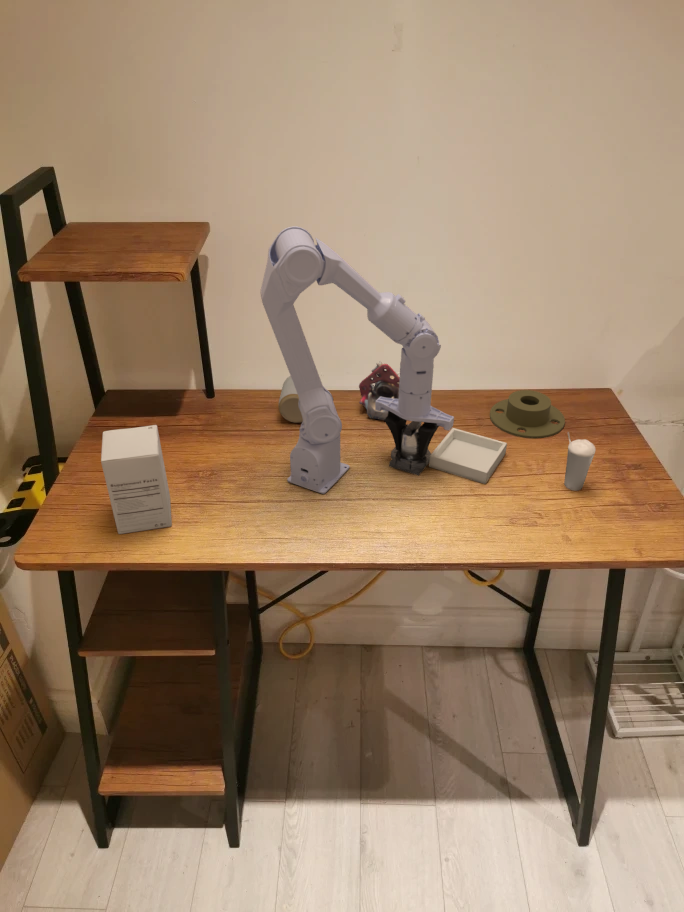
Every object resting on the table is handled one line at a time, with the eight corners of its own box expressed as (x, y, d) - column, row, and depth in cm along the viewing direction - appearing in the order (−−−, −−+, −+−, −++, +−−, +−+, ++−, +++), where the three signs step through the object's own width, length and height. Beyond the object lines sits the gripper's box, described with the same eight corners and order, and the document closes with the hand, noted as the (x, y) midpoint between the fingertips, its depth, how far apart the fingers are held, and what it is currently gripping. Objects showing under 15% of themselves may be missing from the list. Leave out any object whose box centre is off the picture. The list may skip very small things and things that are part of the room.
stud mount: (420, 477, 131) (420, 468, 130) (385, 466, 134) (385, 457, 133) (435, 458, 136) (436, 449, 135) (401, 448, 139) (402, 438, 138)
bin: (485, 484, 129) (486, 472, 128) (428, 466, 134) (429, 455, 132) (505, 453, 137) (507, 443, 136) (451, 438, 142) (452, 427, 140)
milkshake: (565, 473, 132) (574, 426, 126) (591, 485, 129) (602, 438, 123) (551, 483, 129) (561, 436, 124) (578, 496, 126) (589, 449, 121)
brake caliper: (348, 412, 145) (360, 354, 145) (361, 419, 156) (372, 364, 156) (402, 422, 142) (414, 363, 142) (412, 428, 153) (423, 373, 153)
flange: (484, 410, 142) (562, 426, 137) (500, 377, 153) (573, 390, 149) (481, 430, 145) (557, 446, 140) (498, 396, 156) (569, 409, 151)
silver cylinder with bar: (415, 467, 132) (418, 433, 128) (396, 461, 134) (397, 427, 129) (425, 455, 135) (428, 422, 131) (406, 449, 137) (408, 416, 132)
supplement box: (118, 502, 125) (101, 429, 117) (170, 495, 127) (158, 423, 119) (116, 535, 118) (99, 461, 110) (172, 527, 120) (159, 453, 111)
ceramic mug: (277, 424, 146) (276, 391, 142) (283, 404, 153) (282, 371, 148) (329, 427, 146) (330, 394, 141) (333, 406, 152) (333, 374, 148)
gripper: (463, 387, 126) (456, 451, 133) (388, 368, 131) (386, 430, 139) (447, 405, 121) (441, 470, 128) (370, 384, 126) (369, 448, 134)
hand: (411, 451), depth 133 cm, fingers open, 4 cm apart
